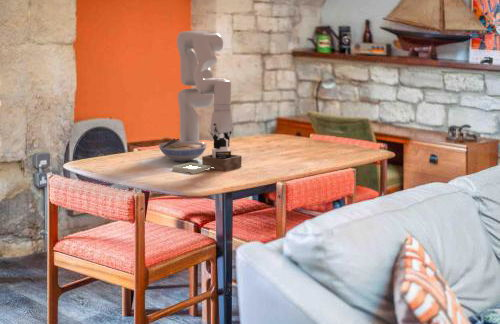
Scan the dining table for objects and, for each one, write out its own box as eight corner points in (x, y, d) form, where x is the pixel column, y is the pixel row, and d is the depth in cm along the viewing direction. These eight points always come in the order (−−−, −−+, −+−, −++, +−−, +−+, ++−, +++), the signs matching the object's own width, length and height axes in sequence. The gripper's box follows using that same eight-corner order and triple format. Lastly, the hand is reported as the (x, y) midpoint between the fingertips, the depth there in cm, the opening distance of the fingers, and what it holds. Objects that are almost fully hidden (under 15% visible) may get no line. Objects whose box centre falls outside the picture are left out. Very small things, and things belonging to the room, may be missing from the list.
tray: (190, 166, 344) (190, 162, 344) (210, 169, 337) (210, 165, 337) (172, 170, 335) (172, 166, 334) (193, 174, 328) (193, 169, 328)
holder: (219, 163, 352) (219, 152, 352) (241, 166, 345) (241, 155, 344) (202, 167, 342) (202, 156, 341) (224, 170, 335) (224, 159, 334)
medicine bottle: (215, 166, 340) (215, 140, 338) (211, 163, 347) (212, 137, 344) (230, 166, 342) (231, 139, 339) (227, 162, 349) (227, 137, 346)
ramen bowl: (199, 166, 344) (199, 148, 343) (151, 164, 349) (150, 146, 347) (213, 157, 368) (213, 140, 367) (167, 154, 373) (167, 138, 371)
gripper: (227, 105, 348) (226, 143, 352) (203, 108, 334) (202, 149, 338) (240, 106, 344) (239, 145, 347) (216, 110, 330) (216, 151, 334)
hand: (221, 147), depth 343 cm, fingers closed on medicine bottle, 6 cm apart
